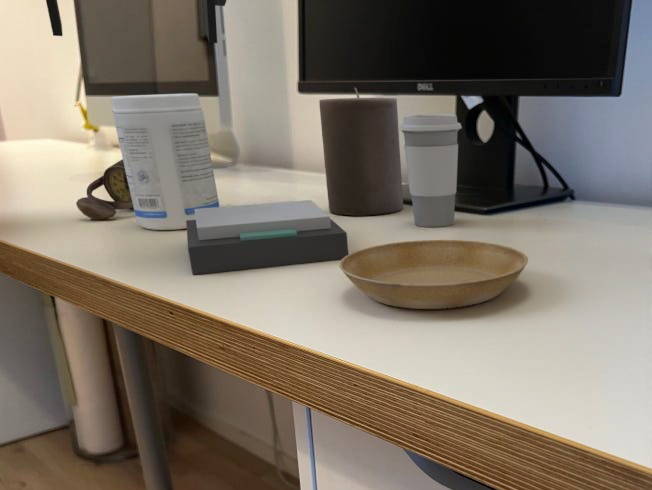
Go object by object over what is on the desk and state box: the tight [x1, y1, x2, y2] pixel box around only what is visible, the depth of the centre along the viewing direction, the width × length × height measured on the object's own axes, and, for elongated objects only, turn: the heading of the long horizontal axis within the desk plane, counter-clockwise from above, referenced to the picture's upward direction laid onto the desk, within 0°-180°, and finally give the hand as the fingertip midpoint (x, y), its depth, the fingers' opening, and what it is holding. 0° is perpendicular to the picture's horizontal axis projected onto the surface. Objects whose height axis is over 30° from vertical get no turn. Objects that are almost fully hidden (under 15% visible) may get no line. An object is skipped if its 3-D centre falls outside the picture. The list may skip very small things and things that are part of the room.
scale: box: [186, 199, 350, 276], centre depth 69 cm, size 14×14×4 cm
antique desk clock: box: [75, 158, 134, 220], centre depth 92 cm, size 7×13×10 cm
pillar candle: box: [318, 87, 404, 217], centre depth 89 cm, size 10×10×15 cm
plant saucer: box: [338, 239, 529, 310], centre depth 55 cm, size 15×15×3 cm
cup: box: [398, 113, 463, 228], centre depth 80 cm, size 7×7×12 cm
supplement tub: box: [110, 93, 220, 231], centre depth 82 cm, size 10×10×15 cm
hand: (137, 34), depth 68 cm, fingers open, 13 cm apart
